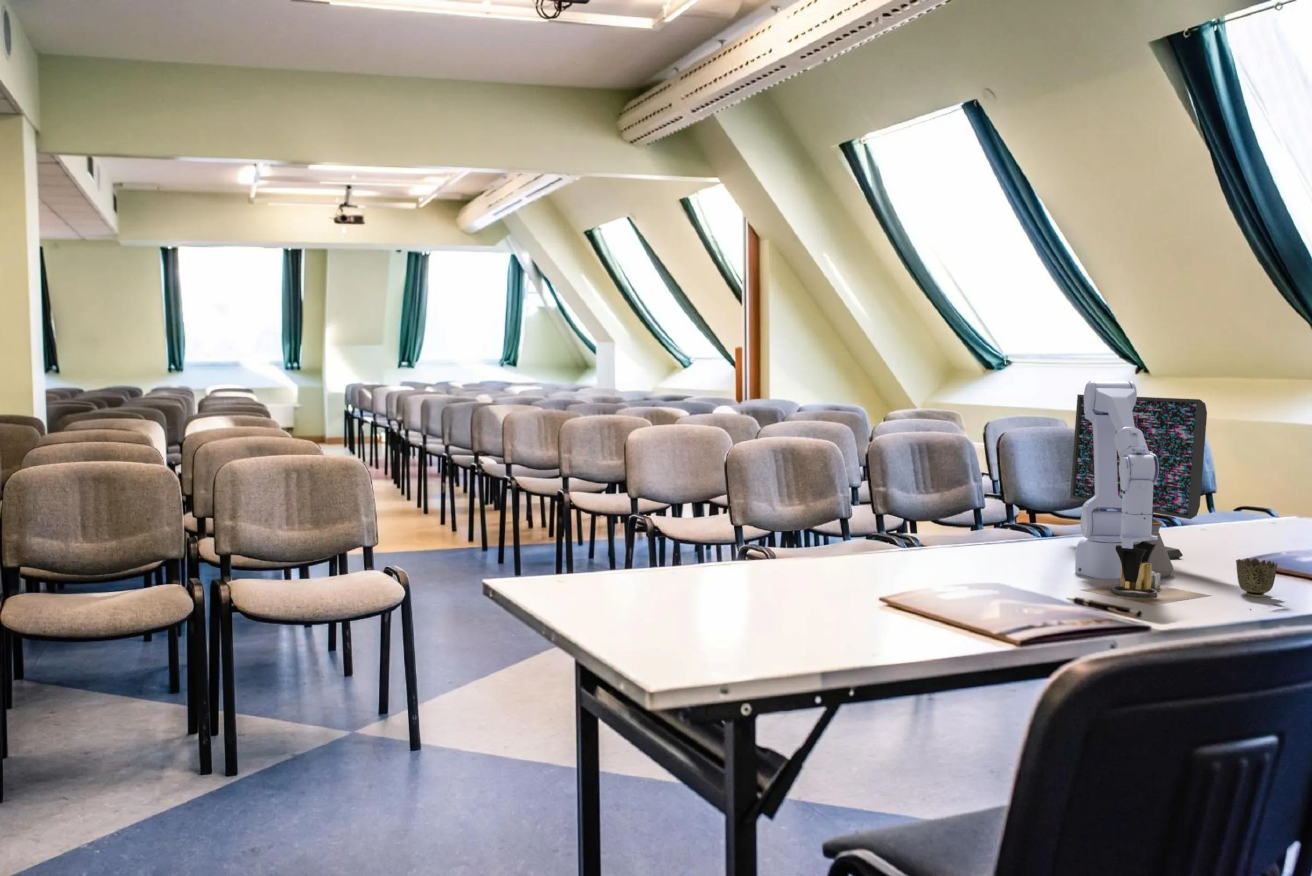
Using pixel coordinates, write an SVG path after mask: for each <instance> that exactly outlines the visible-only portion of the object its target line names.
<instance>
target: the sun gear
mask: <svg viewBox="0 0 1312 876" xmlns="http://www.w3.org/2000/svg"><path fill="white" fill-rule="evenodd" d="M1160 575H1161V574H1160V573H1155V572H1154V571H1152V572H1151V589H1154V590H1157V589H1158V588H1160V586H1161V578H1160Z"/></svg>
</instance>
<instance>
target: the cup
mask: <svg viewBox="0 0 1312 876" xmlns="http://www.w3.org/2000/svg"><path fill="white" fill-rule="evenodd" d="M1235 563H1236V564H1235V565H1236V575H1237V583H1238V586H1239V587H1240V589H1242V590H1243V591H1244V592H1245V593H1244V595H1245V596H1248V597H1255V598H1264V597H1266V593H1269V592H1270V591H1272V588H1273V586H1274V583H1275V579H1276V575H1277V569H1278V568H1277V567H1278V562H1276V563H1275V561H1271V560H1268V561H1267V562H1266V560H1265V559H1263V560H1261V561H1260V560H1259V559H1258V558H1253V559H1251V560H1250V558H1249V557H1246V558H1245V560H1244V561H1241V559H1239V558H1238V559H1236V560H1235Z"/></svg>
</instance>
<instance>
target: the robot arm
mask: <svg viewBox="0 0 1312 876" xmlns="http://www.w3.org/2000/svg"><path fill="white" fill-rule="evenodd" d="M1083 395H1084V413H1085V418H1086V419H1087V420H1089V421H1091V422H1092V427H1093V440H1094V478H1095V496H1094V497H1092V498H1091V499H1089V500H1088V501H1085V502H1084V503H1083V505H1082V507H1081V515H1080V531H1081V534H1082V535H1083V538H1081V539H1080V540H1079V541H1078V542H1077V544H1076V548H1075V564H1074V565H1075V566H1074V567H1075V569H1074V573H1075V574H1077V575H1083V576H1087V577H1091V578H1094V579H1095V578H1096V579H1103V580H1119V579H1120V575H1121V564H1122V569H1123V574H1124V579H1125V581H1127V582H1136V581H1137V579H1138V575H1139V569H1140V564H1141V561H1145V562H1147V563H1148V560H1149V557H1150V555H1151V553H1152V551H1153V549H1154V548H1155V545H1156V544H1155V543H1150V542H1147V541H1149V540H1157V539H1158V536H1153V535H1151V531H1152V506H1153V483H1154V482H1156V481H1157V478H1158V474H1159V463H1158V459H1157V456H1156V455H1155V454H1153V453H1152V451H1149V450H1148V448H1147V445H1146V442H1145V439H1144V436H1143V433H1142V431H1141V430H1140V429H1138V428H1135V425H1134V419H1133V414H1132V410H1133V408H1134V406H1135V403H1136V399H1137V397H1138V392H1137V386H1136V385H1135V383H1134V382H1133V381H1132V380H1128V381H1105V380H1104V381H1103V380H1101V381H1100V380H1099V381H1095V380H1089V381H1088V382H1087V383H1086V384H1085V387H1084V392H1083ZM1116 431H1117V433H1116ZM1117 451H1118V455H1119V458H1120V464H1119V475H1120V487H1121V490H1123V493H1122V499H1121V498H1120V497H1119V496H1118V480H1117ZM1093 509H1099V510H1100V511H1099V510H1093Z"/></svg>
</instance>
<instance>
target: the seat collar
mask: <svg viewBox="0 0 1312 876" xmlns="http://www.w3.org/2000/svg"><path fill="white" fill-rule="evenodd" d="M1118 590H1135V591H1143V592H1148V593H1129V592H1123V591H1118ZM1111 593H1113V594H1115V595H1120V596H1125V597H1134V598H1152V597H1156V596H1157V591H1156V590H1154V589H1151V588H1150V589H1141V590H1137V589H1132V588H1130V589H1128V588H1125V587H1121V586H1113V587H1112V588H1111Z"/></svg>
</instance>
